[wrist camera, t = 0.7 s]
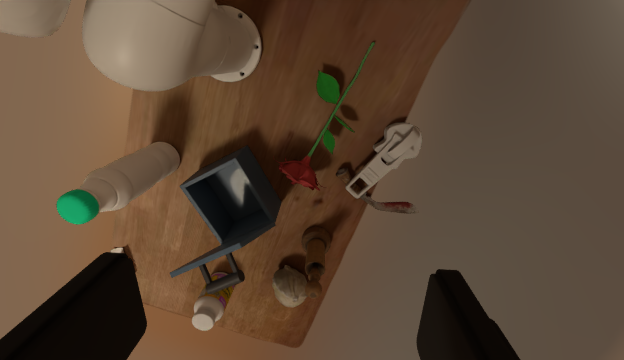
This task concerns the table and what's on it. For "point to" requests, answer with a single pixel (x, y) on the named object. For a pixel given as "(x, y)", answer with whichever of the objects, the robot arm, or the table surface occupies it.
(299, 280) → the cream hollow lumpy ball
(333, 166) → the table surface
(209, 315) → the supplement bottle
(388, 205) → the machete
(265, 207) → the chest
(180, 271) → the lid
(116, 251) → the white curved plate
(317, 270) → the mortar and pestle
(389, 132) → the zipper pull
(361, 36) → the table surface
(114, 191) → the water bottle
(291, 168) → the flower
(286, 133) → the table surface
